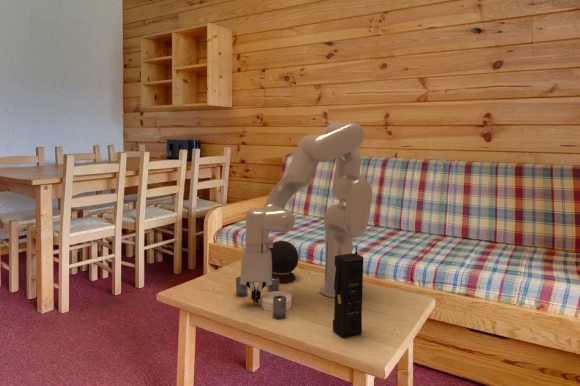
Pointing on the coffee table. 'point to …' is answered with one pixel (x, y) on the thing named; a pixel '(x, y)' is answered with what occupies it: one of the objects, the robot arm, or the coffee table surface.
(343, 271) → the portable radio
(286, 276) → the black ball on stand
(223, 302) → the coffee table surface
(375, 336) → the coffee table surface
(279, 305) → the posts
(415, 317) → the coffee table surface
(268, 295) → the coaster
